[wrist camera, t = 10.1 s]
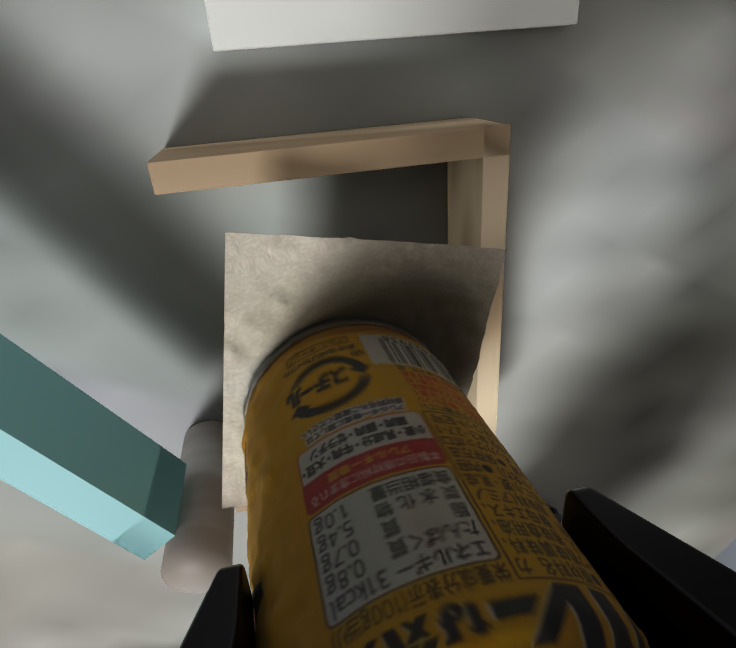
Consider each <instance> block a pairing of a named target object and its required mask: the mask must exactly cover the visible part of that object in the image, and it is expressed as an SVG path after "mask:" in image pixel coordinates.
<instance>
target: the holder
mask: <svg viewBox="0 0 736 648" xmlns="http://www.w3.org/2000/svg"><path fill="white" fill-rule="evenodd" d="M510 137H511V125H508V124H503V123H498V122H493V121H488V120H483V119H477V118H472V117H467V118H457V119H447V120H437V121H428V122H418V123H408V124H398V125H388V126H378V127H368V128H358V129H348V130H338V131H328V132H318V133H308V134H299V135H289V136H279V137H269V138H259V139H249V140H239V141H229V142H219V143H209V144H199V145H189V146H179V147H169V148H164V149H162V150H161V151H160V152H159V153H158V154H157V155H155V156H154V157H153V158H152V159H151V160H150V161H149V162H147V166H148V170H149V174H150V178H151V182H152V185H153V189H154V193H155V195H159V194H168V193H177V192H186V191H195V190H203V189H212V188H221V187H230V186H239V185H247V184H256V183H265V182H274V181H283V180H291V179H300V178H309V177H318V176H327V175H335V174H344V173H353V172H362V171H370V170H379V169H388V168H397V167H406V166H414V165H423V164H432V163H441V162H448V245H459V246H474V247H478V248H496V249H505V239H506V219H507V199H508V178H509V158H510ZM504 260H505V258H504ZM503 280H504V262H503V266H502V270H501V274H500V280H499V285H498V287H497V290H496V293H495V296H494V299H493V302H492V305H491V308H490V313H489V317H488V320H487V324H486V330H485V335H484V338H483V341H482V345H481V350H480V358H479V362H478V365H477V368H476V370H475V372H474V375H473V381H472V384H471V387H470V390H469V393H468V396H467V398H468V400H469V401H470V402H471V404H472V405H473V406H474V407H475V408H476V409H477V411H478V413H479V414H480V416H481V417H482V418H483V419H484V421H485V422H486V424H487V425H488V426H489V428H490V429H491V430H492V432H493V433H494V435H495V436H496V423H497V403H498V382H499V362H500V342H501V321H502V301H503ZM181 460H182V461H183V462H184V463H186V464H187V465H186V472H185V478H184V484H183V490H182V497H181V503H180V509H179V515H178V522H177V528H176V534H175V536H174V537H173V538H172V539H170V540H169V541H168V542H167V543H166V544H165V549H164V555H163V561H162V566H161V576H162V579H163V581H164V582H165V583H166V584H167V585H168V586H169V587H170V588H172V589H174V590H177V591H180V592H184V593H202V592H206V591H208V589H209V587H210V585H211V583H212V581H213V579H214V577H215V575H216V573H217V572H218V570H220V569H221V568H224V567H228V566H232V559H233V530H234V507H229V508H222V462H223V423H222V422H219V421H213V420H211V421H203V422H200V423H197V424H195V425H194V426H192V427H191V428H190V429H189V430H188V431H187V433H186V435H185V438H184V443H183V448H182V454H181ZM235 507H236V511H237V512H242V511H247V506H242V507H239V506H235Z"/></svg>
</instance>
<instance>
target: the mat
mask: <svg viewBox="0 0 736 648" xmlns="http://www.w3.org/2000/svg"><path fill="white" fill-rule="evenodd" d="M204 2H205V7H206V13H207V18H208V23H209V29H210V34H211V40H212V45H213V51H215V52H217V51H231V50H244V49H257V48H271V47H284V46H298V45H311V44H324V43H338V42H351V41H365V40H378V39H391V38H405V37H418V36H432V35H445V34H458V33H472V32H485V31H499V30H512V29H525V28H539V27H552V26H566V25H573V24H577V20H578V9H579V0H204Z"/></svg>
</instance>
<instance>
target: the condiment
mask: <svg viewBox="0 0 736 648" xmlns="http://www.w3.org/2000/svg"><path fill="white" fill-rule="evenodd" d="M505 254H506V249H496V248H478V247H474V246H459V245H445V244H424V243H417V242H398V241H382V240H364V239H356V238H353V237H347V238H320V237H305V236H293V235H264V234H245V233H228V232H226V233H225V294H224V324H225V326H224V379H223V462H222V508H229V507H235V506H239V507H242V506H247V511H248V541H247V556H248V562H249V578H250V587H251V589H252V599H253V607H254V623H255V641H256V643H255V648H650V647H649V644H648V641H647V639H646V637H645V635H644V633H643V632H642V631H641V630H640V629H639V628H638V627H637V626H636V624H635V623H634V622H633V621H632V619H631V618H630V617H629V615H628V614H627V613H626V612H625V610H624V609H623V608H622V606H621V605H620V603H619V602H618V600H617V599H616V597H615V596H614V595H613V593H612V592H611V591H610V590H609V588H608V587H607V586H606V585H605V583H604V582H603V581H602V579H601V578H600V576H599V574H598V573H597V572H596V571H595V570H594V568H593V567H592V565H591V564H590V562H589V561H588V560H587V558H586V557H585V556H584V554H583V553H582V552H581V551H580V550H579V548H578V547H577V545H576V544H575V542H574V541H573V540H572V539H571V537H570V536H569V535H568V533H567V532H566V531H565V529H564V528H563V527H562V525H561V524H560V522H559V521H558V520H557V518H556V517H555V516H554V514H553V513H552V511H551V510H550V509H549V507H548V506H547V504H546V503H545V502H544V500H543V499H542V498H541V497H540V495H539V494H538V492H537V491H536V490H535V488H534V487H533V486H532V484H531V483H530V482H529V480H528V479H527V478H526V476H525V475H524V474H523V472H522V471H521V470H520V468H519V467H518V465H517V464H516V463H515V461H514V460H513V458H512V457H511V456H510V455H509V453H508V452H507V450H506V449H505V447H504V446H503V445H502V444H501V443H500V441H499V440H498V439H497V437H496V436H495V435H494V433H493V432H492V430H491V429H490V428H489V426H488V425H487V424H486V422H485V421H484V419H483V418H482V417H481V416H480V414H479V413H478V411H477V409H476V408H475V407H474V406H473V405H472V404H471V402H470V401H469V400H468V398H467V396H468V393H469V390H470V387H471V384H472V381H473V375H474V372H475V370H476V368H477V365H478V362H479V358H480V350H481V345H482V341H483V338H484V335H485V330H486V324H487V320H488V317H489V313H490V308H491V305H492V302H493V299H494V296H495V293H496V290H497V287H498V285H499V280H500V274H501V270H502V266H503V262H504V258H505Z"/></svg>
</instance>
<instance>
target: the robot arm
mask: <svg viewBox="0 0 736 648" xmlns="http://www.w3.org/2000/svg"><path fill="white" fill-rule="evenodd" d="M549 509H550V510H551V511H552V513H553V514H554V516H555V517H556V518H557V520H558V521H559V522H560V524H561V515H560V514H559V512H558V511H557V510H556V508H553V507H551V508H549ZM562 527H563V528H564V529H565V531H566V532H567V533H568V535H569V536H570V537H571V539H572V540H573V541H574V542H575V544H576V545H577V547H578V548H579V550H580V551H581V552H582V553H583V554H584V556H585V557H586V558H587V560H588V561H589V562H590V564H591V565H592V567H593V568H594V570H595V571H596V572H597V573H598V574H599V576H600V578H601V579H602V581H603V582H604V583H605V585H606V586H607V587H608V588H609V590H610V591H611V592H612V593H613V595H614V596H615V597H616V599H617V600H618V602H619V603H620V605H621V606H622V608H623V609H624V610H625V612H626V613H627V614H628V615H629V617H630V618H631V619H632V621H633V622H634V623H635V624H636V626H637V627H638V628H639V629H640V630H641V631H642V632H643V633H644V635H645V637H646V639H647V641H648V644H649V647H650V648H736V572H735V571H733V570H732V569H730V568H728V567H726V566H724V565H723V564H721V563H719V562H718V561H716V560H714V559H713V558H711V557H709V556H707V555H706V554H704V553H702V552H700V551H699V550H697V549H695V548H694V547H692V546H690V545H688V544H687V543H685V542H683V541H682V540H680V539H678V538H676V537H675V536H673V535H671V534H669V533H668V532H666V531H664V530H663V529H661V528H659V527H657V526H656V525H654V524H652V523H650V522H649V521H647V520H645V519H644V518H642V517H640V516H638V515H637V514H635V513H633V512H632V511H630V510H628V509H626V508H625V507H623V506H621V505H619V504H618V503H616V502H614V501H613V500H611V499H609V498H607V497H606V496H604V495H602V494H600V493H599V492H597V491H595V490H594V489H592V488H589V487H581V488H576V489H572V490H569V491H568V492H567V493H566V495H565V501H564V508H563V515H562ZM255 643H256V641H255V623H254V607H253V599H252V594H251V590H250V586H249V582H248V579H247V575H246V571H245V568H244V566H243V565H242V564H237V565H232V566H228V567H224V568H221V569H220V570H218V572H217V573H216V575H215V577H214V579H213V581H212V583H211V585H210V587H209V589H208V591H207V593H206V595H205V597H204V599H203V601H202V603H201V605H200V608H199V610H198V612H197V614H196V616H195V618H194V620H193V622H192V624H191V626H190V628H189V630H188V632H187V634H186V636H185V638H184V640H183V642H182V644H181V646H180V648H255Z"/></svg>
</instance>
